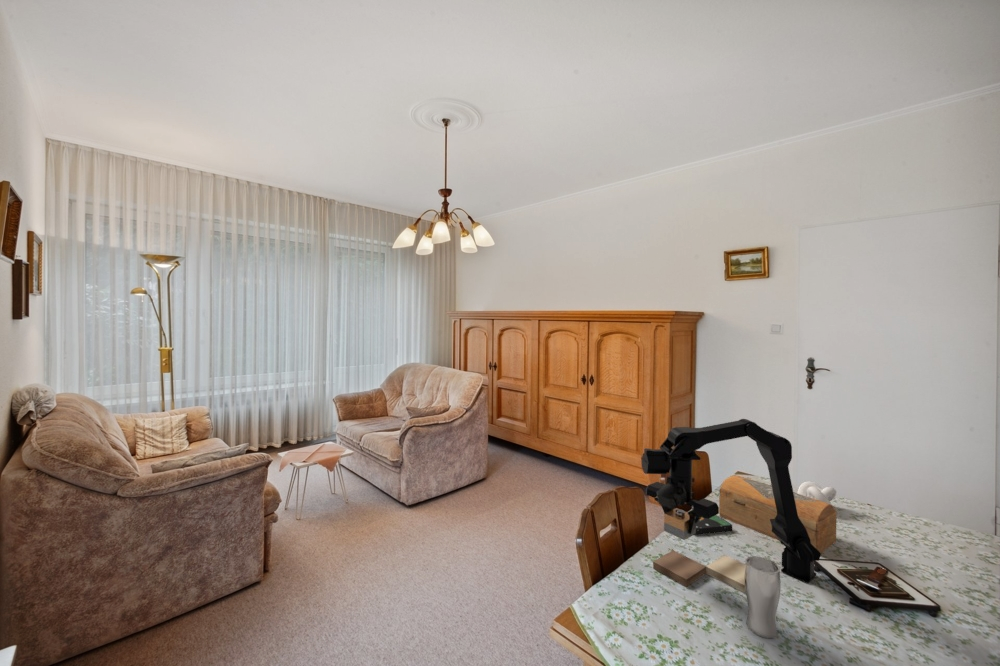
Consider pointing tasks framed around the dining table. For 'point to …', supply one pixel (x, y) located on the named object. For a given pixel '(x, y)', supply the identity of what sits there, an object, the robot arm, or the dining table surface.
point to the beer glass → (762, 595)
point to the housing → (677, 523)
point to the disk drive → (712, 525)
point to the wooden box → (774, 510)
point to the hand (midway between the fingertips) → (680, 528)
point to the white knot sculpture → (817, 492)
